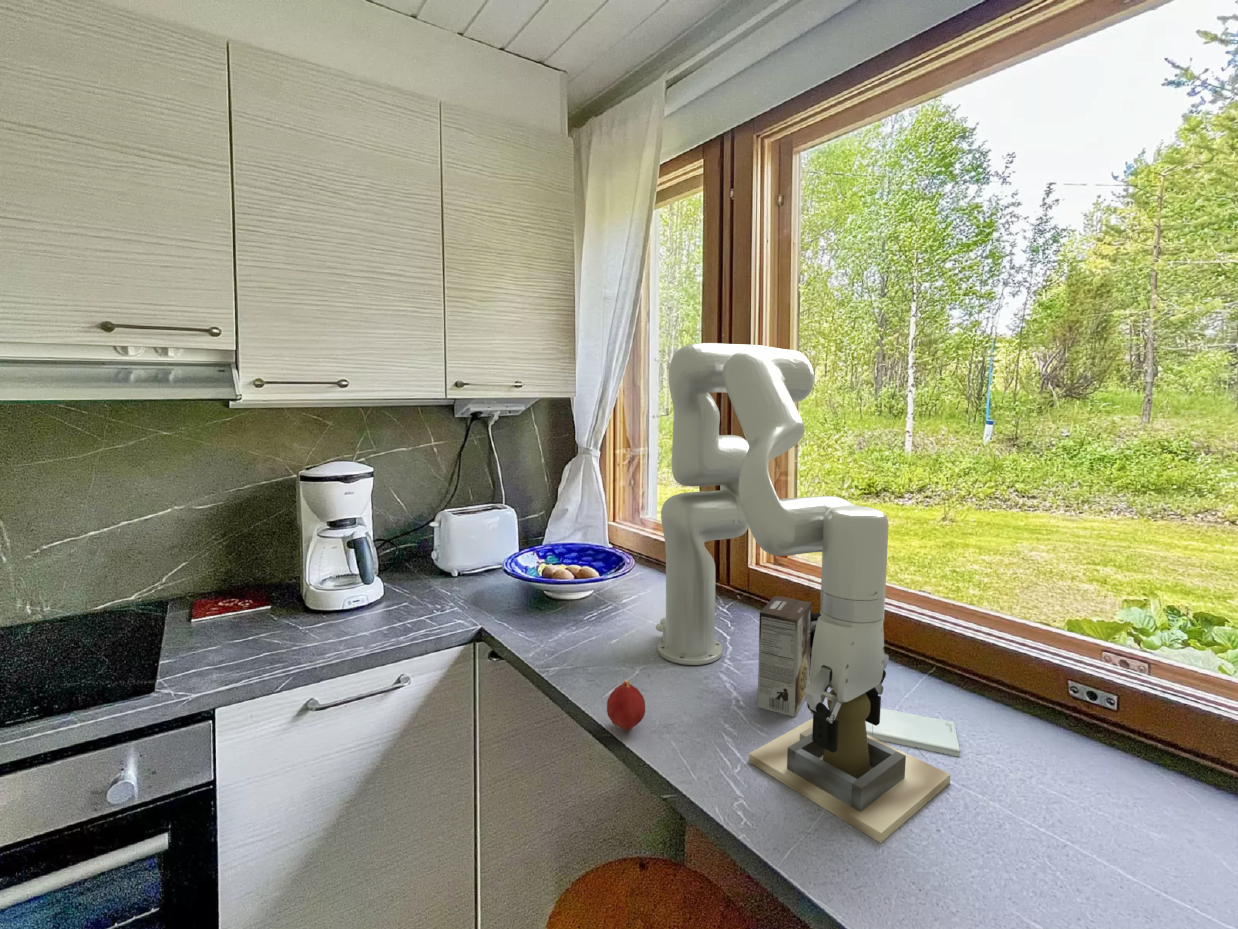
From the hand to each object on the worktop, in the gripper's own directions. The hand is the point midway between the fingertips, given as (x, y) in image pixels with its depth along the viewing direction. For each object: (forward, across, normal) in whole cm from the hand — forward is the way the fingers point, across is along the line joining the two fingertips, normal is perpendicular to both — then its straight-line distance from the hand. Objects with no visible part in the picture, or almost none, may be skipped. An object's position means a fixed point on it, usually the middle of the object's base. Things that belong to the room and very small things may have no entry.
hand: (846, 733), depth 77 cm
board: (+7, -2, -1) cm, 7 cm away
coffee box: (+7, -11, -18) cm, 22 cm away
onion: (+7, +15, -27) cm, 32 cm away
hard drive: (+7, -18, -1) cm, 20 cm away
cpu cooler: (+7, -27, -20) cm, 34 cm away
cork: (+6, 0, 0) cm, 6 cm away
